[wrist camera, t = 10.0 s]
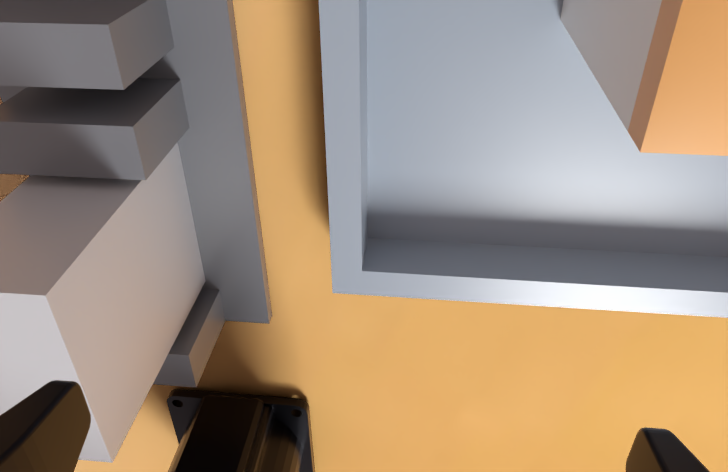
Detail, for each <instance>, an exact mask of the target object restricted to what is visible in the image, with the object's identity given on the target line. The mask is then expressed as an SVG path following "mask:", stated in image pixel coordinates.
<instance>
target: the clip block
mask: <svg viewBox="0 0 728 472" xmlns="http://www.w3.org/2000/svg"><path fill="white" fill-rule="evenodd" d="M0 97H1V100H2V102H3V103H2V104H0V174H20V175H29V176H31V175H41V176H63V177H84V178H105V179H127V180H147V179H148V177H149V176H150V175H151V174H152V172H153V171H154V170H155V169H156V168H157V166H158V165H159V164H160V163H161V162H162V160H163V159H164V158H165V157H166V155H167V154H168V153H169V152H170V151H171V149H172V148H173V147H174V146H175V144H176V143H177V142H178V147H179V152H180V157H181V162H182V167H183V172H184V177H185V182H186V187H187V191H188V196H189V201H190V206H191V211H192V216H193V221H194V226H195V231H196V236H197V241H198V246H199V251H200V256H201V261H202V266H203V271H204V276H205V283H204V285H203V287H202V289H201V291H200V293H199V295H198V297H197V299H196V301H195V303H194V305H193V306H192V308H191V310H190V312H189V314H188V316H187V318H186V320H185V322H184V324H183V326H182V328H181V330H180V332H179V334H178V336H177V338H176V340H175V342H174V344H173V345H172V347H171V349H170V351H169V353H168V355H167V357H166V359H165V361H164V363H163V365H162V367H161V369H160V371H159V373H158V375H157V377H156V379H155V381H154V383H153V384H158V385H170V386H183V387H197V385H198V383H199V380H200V378H201V376H202V373H203V371H204V369H205V367H206V364H207V362H208V360H209V357H210V355H211V353H212V350H213V348H214V346H215V343H216V341H217V339H218V336H219V334H220V332H221V330H222V327H223V325H224V323H225V321H239V322H254V323H268V324H269V323H270V320H271V317H272V311H271V303H270V295H269V287H268V279H267V271H266V263H265V255H264V248H263V240H262V232H261V224H260V216H259V208H258V200H257V192H256V184H255V176H254V168H253V160H252V152H251V144H250V136H249V129H248V121H247V113H246V105H245V97H244V89H243V81H242V73H241V65H240V57H239V49H238V41H237V33H236V25H235V17H234V10H233V2H232V0H0Z"/></svg>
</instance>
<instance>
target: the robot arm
mask: <svg viewBox="0 0 728 472" xmlns="http://www.w3.org/2000/svg"><path fill="white" fill-rule="evenodd" d="M167 404H168V408H169V411H170V415H171V418H172V421H173V425H174V428H175V432H176V435H177V439H178V442H179V446H178V449H177V451H176V454H175V456H174V458H173V461H172V463H171V465H170V468H169V470H168V472H315V467H314V456H313V445H312V434H311V423H310V412H309V405H308V404H307V403H306V402H305V401H304V400H301V399H295V398H283V397H270V396H257V395H245V394H232V393H219V392H207V391H194V390H182V389H175V390H173V391H171V393H170V395H169V397H168V399H167ZM90 424H91V414H90V411H89V408H88V405H87V403H86V400H85V397H84V394H83V391H82V389H81V386H80V385H79V384H78V383H77V382H74V381H63V380H53V381H51V382H48V383H47V384H45V385H44V386H42V387H41V388H39V389H38V390H36V391H35V392H33V393H32V394H31V395H29V396H28V397H26V398H25V399H23V400H22V401H20V402H19V403H17V404H16V405H15V406H13V407H12V408H10V409H9V410H7V411H6V412H4V413H3V414H1V415H0V472H74V469H75V467H76V464H77V461H78V459H79V456H80V453H81V450H82V448H83V445H84V442H85V440H86V437H87V434H88V432H89V428H90ZM626 472H710V471H709V470H708V469H707V468H706V467H705V466H704V465H703V464H702V463H701V462H700V461H699V460H698V459H697V458H696V457H695V456H694V455H693V454H692V453H691V452H690V451H689V450H688V448H687V447H686V446H685V445H684V444H683V443H682V442H681V441H680V440H679V439H678V438H677V437H676V436H675V435H674V434H673V433H672V432H670V431H669V430H666V429H658V428H641V429H640V430H639V431H638V433H637V435H636V438H635V440H634V443H633V445H632V448H631V450H630V453H629V455H628V458H627V461H626Z"/></svg>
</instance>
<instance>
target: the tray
mask: <svg viewBox="0 0 728 472" xmlns="http://www.w3.org/2000/svg"><path fill="white" fill-rule="evenodd" d="M562 6H563V0H319V19H320V40H321V61H322V81H323V102H324V123H325V144H326V164H327V185H328V206H329V226H330V247H331V268H332V289H333V293H342V294H358V295H374V296H390V297H406V298H422V299H438V300H454V301H470V302H486V303H502V304H518V305H534V306H550V307H566V308H582V309H598V310H614V311H630V312H646V313H662V314H678V315H694V316H710V317H726V318H728V156H717V155H691V154H666V153H641V152H640V151H639V150H638V148H637V146H636V145H635V143H634V141H633V140H632V138H631V136H630V135H629V133H628V131H627V130H626V128H625V126H624V125H623V123H622V121H621V120H620V118H619V116H618V115H617V113H616V111H615V110H614V108H613V106H612V105H611V103H610V101H609V100H608V98H607V97H606V95H605V93H604V92H603V90H602V88H601V87H600V85H599V83H598V82H597V80H596V78H595V77H594V75H593V73H592V72H591V70H590V68H589V67H588V65H587V63H586V62H585V60H584V58H583V57H582V55H581V53H580V52H579V50H578V48H577V47H576V45H575V43H574V42H573V40H572V38H571V37H570V35H569V33H568V32H567V30H566V28H565V27H564V25H563V23H562V22H561V20H560V18H561V12H562Z"/></svg>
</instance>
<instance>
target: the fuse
mask: <svg viewBox="0 0 728 472" xmlns="http://www.w3.org/2000/svg"><path fill="white" fill-rule="evenodd" d="M204 283H205V276H204V271H203V266H202V261H201V256H200V251H199V246H198V241H197V236H196V231H195V226H194V221H193V216H192V211H191V206H190V201H189V196H188V191H187V187H186V182H185V177H184V172H183V167H182V162H181V157H180V152H179V147H178V142H177V143H176V144H175V146H174V147H173V148H172V149H171V151H170V152H169V153H168V154H167V155H166V157H165V158H164V159H163V160H162V162H161V163H160V164H159V165H158V166H157V168H156V169H155V170H154V171H153V172H152V174H151V175H150V176H149V177H148V179H147V180H127V179H105V178H84V177H63V176H41V175H31V176H29V177H28V178H27V179H26V180H25V181H24V182H22V183H21V184H20V185H19V186H18V187H17V188H15V189H14V190H13V191H12V192H11V193H10V194H8V195H7V196H6V197H5V198H4V199H3V200H2V201H0V415H1V414H3V413H4V412H6V411H7V410H9V409H10V408H12V407H13V406H15V405H16V404H17V403H19V402H20V401H22V400H23V399H25V398H26V397H28V396H29V395H31V394H32V393H33V392H35V391H36V390H38V389H39V388H41V387H42V386H44V385H45V384H47V383H48V382H51V381H53V380H63V381H74V382H77V383H78V384H79V385H80V386H81V389H82V391H83V394H84V397H85V400H86V403H87V405H88V408H89V411H90V414H91V424H90V428H89V432H88V434H87V437H86V440H85V442H84V445H83V448H82V450H81V453H80V456H79V460H90V461H101V462H112V463H113V461H114V459H115V457H116V455H117V453H118V451H119V449H120V447H121V445H122V443H123V441H124V439H125V437H126V435H127V433H128V431H129V429H130V427H131V425H132V424H133V422H134V420H135V418H136V416H137V414H138V412H139V410H140V408H141V406H142V404H143V402H144V400H145V398H146V396H147V394H148V392H149V390H150V388H151V386H152V384H153V383H154V381H155V379H156V377H157V375H158V373H159V371H160V369H161V367H162V365H163V363H164V361H165V359H166V357H167V355H168V353H169V351H170V349H171V347H172V345H173V344H174V342H175V340H176V338H177V336H178V334H179V332H180V330H181V328H182V326H183V324H184V322H185V320H186V318H187V316H188V314H189V312H190V310H191V308H192V306H193V305H194V303H195V301H196V299H197V297H198V295H199V293H200V291H201V289H202V287H203V285H204Z"/></svg>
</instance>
